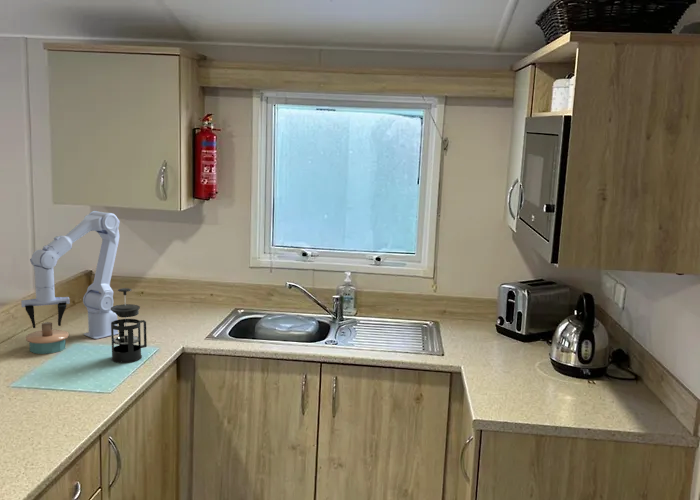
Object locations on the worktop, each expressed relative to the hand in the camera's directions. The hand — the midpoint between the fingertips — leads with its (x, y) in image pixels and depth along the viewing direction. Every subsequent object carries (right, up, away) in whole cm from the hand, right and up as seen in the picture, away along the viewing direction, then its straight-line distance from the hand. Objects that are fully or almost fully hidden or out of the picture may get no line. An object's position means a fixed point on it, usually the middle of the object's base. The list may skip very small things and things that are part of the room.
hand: (46, 326), depth 231 cm
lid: (0, -4, 0) cm, 4 cm away
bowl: (0, -8, +1) cm, 8 cm away
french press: (+29, -10, -6) cm, 31 cm away
